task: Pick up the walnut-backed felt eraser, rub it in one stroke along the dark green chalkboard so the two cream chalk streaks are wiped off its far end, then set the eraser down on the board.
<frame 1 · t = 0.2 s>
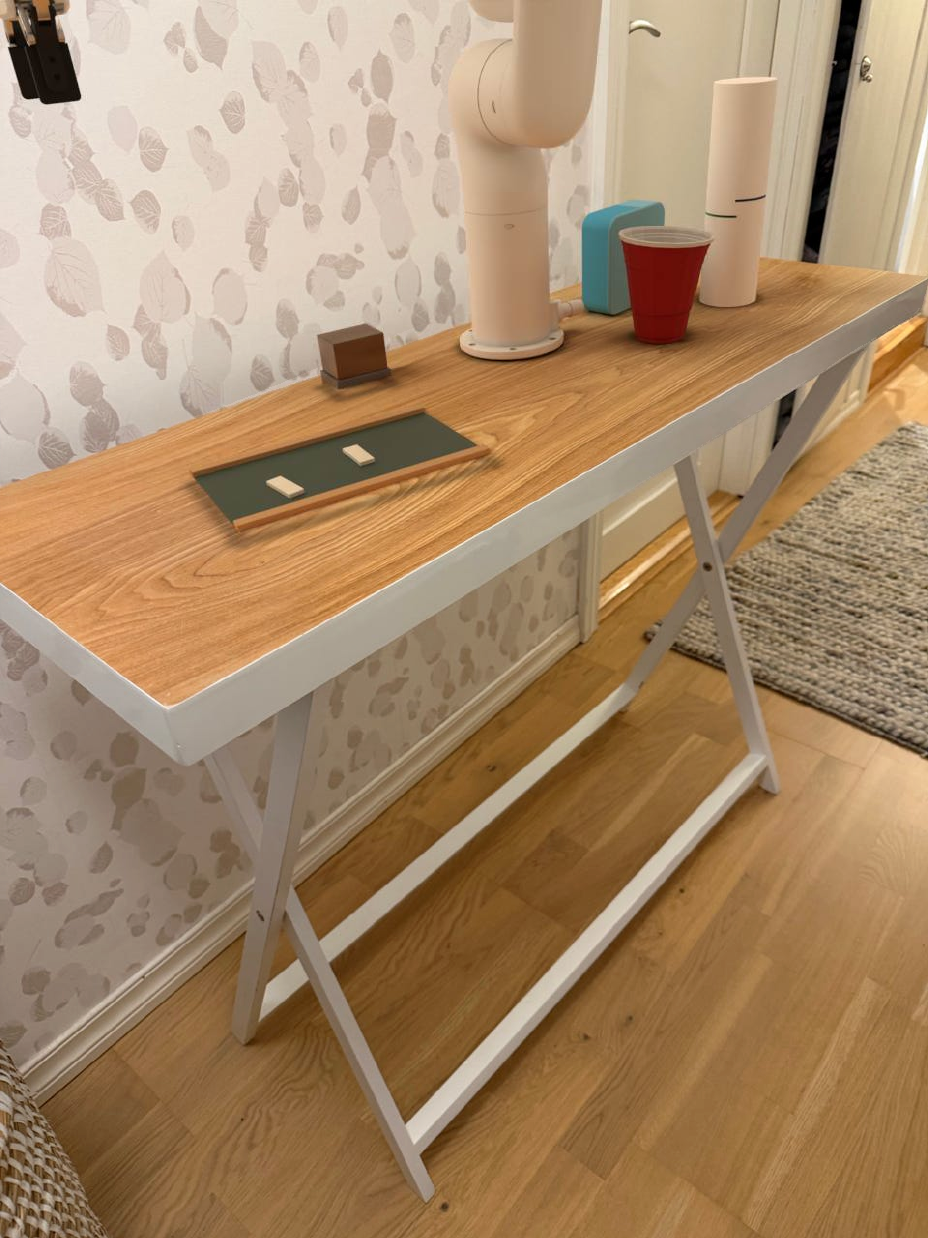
hand: (51, 99, 79), 31 cm above the table, tool pointing down, fingers open, 9 cm apart
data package: (622, 305, 124), on the table
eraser: (357, 386, 105), on the table
chalk streak A: (359, 456, 86), point 1 cm above the table, touching chalkboard
chalk streak B: (285, 488, 81), point 1 cm above the table, touching chalkboard
chalkboard: (341, 474, 85), on the table
plastic cup: (661, 337, 111), on the table
cylindrical container: (727, 300, 122), on the table
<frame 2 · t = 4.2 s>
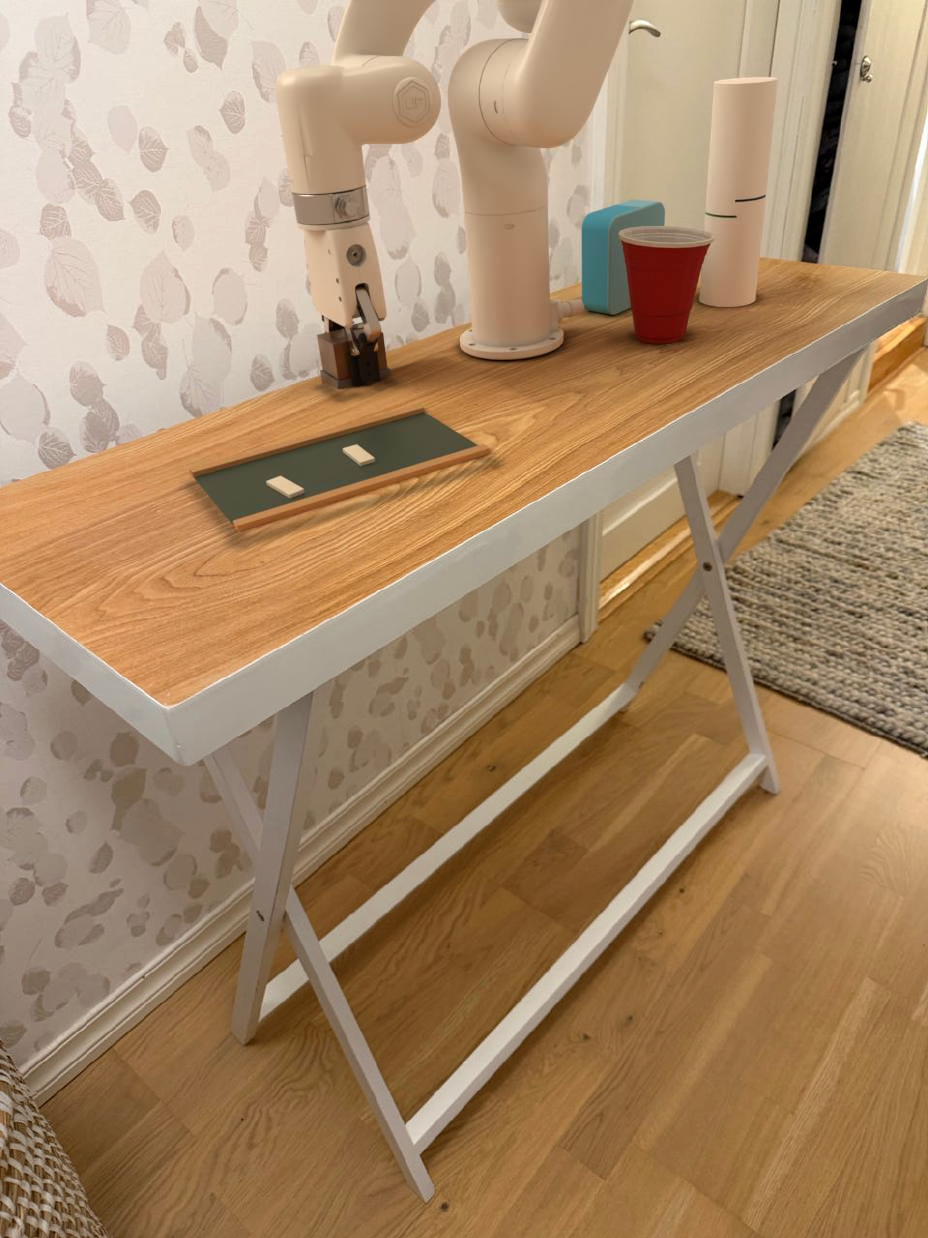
hand: (356, 379, 104), 1 cm above the table, tool pointing down, fingers closed on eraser, 5 cm apart
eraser: (357, 386, 105), on the table, touching gripper
everything else where it was.
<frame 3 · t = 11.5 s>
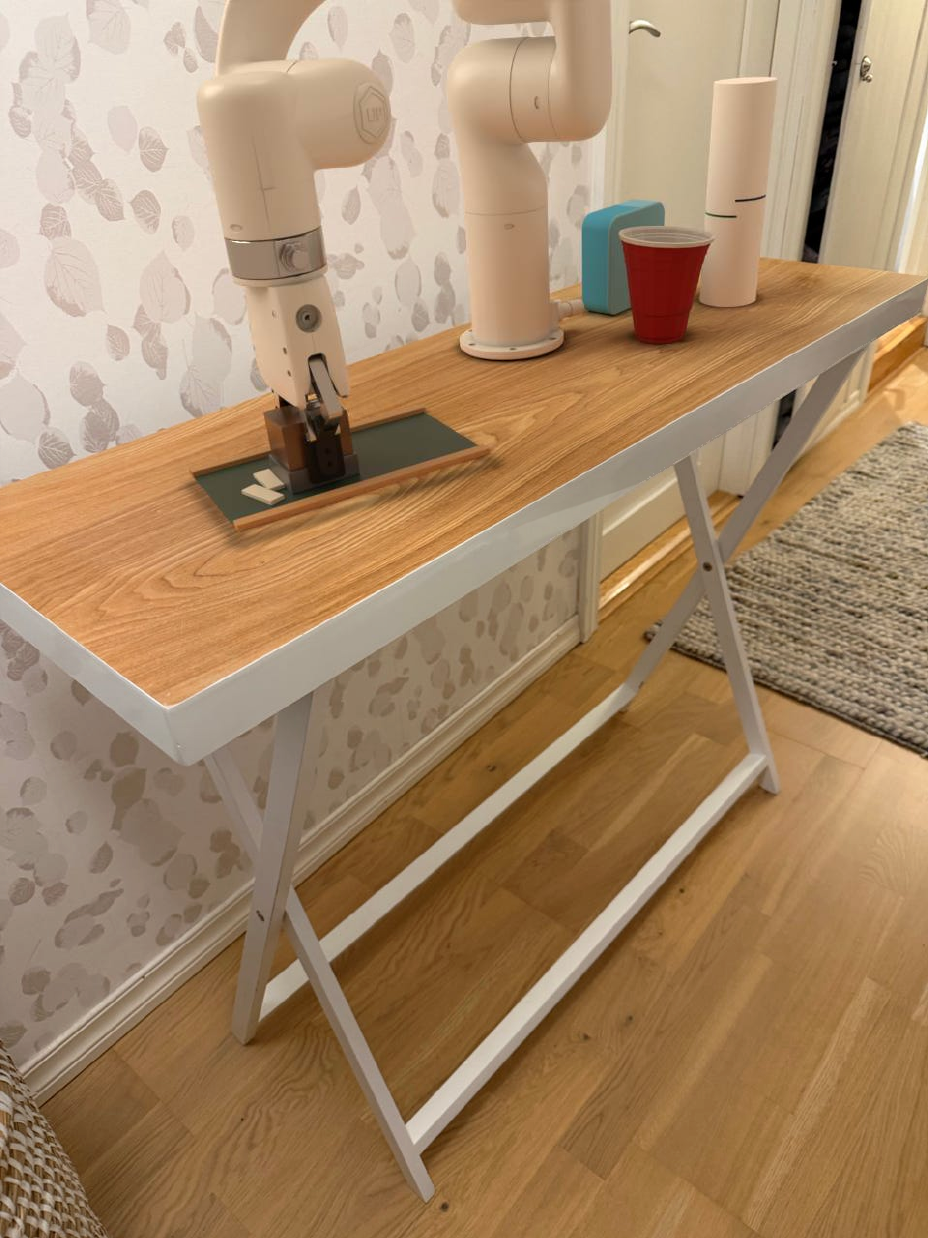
hand: (315, 465, 83), 2 cm above the table, tool pointing down, fingers closed on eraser, 5 cm apart
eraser: (316, 474, 83), point 1 cm above the table, touching gripper
chalk streak A: (269, 482, 82), point 1 cm above the table, touching chalk streak B
chalk streak B: (263, 496, 80), point 1 cm above the table, touching chalk streak A, chalkboard
everything else where it was.
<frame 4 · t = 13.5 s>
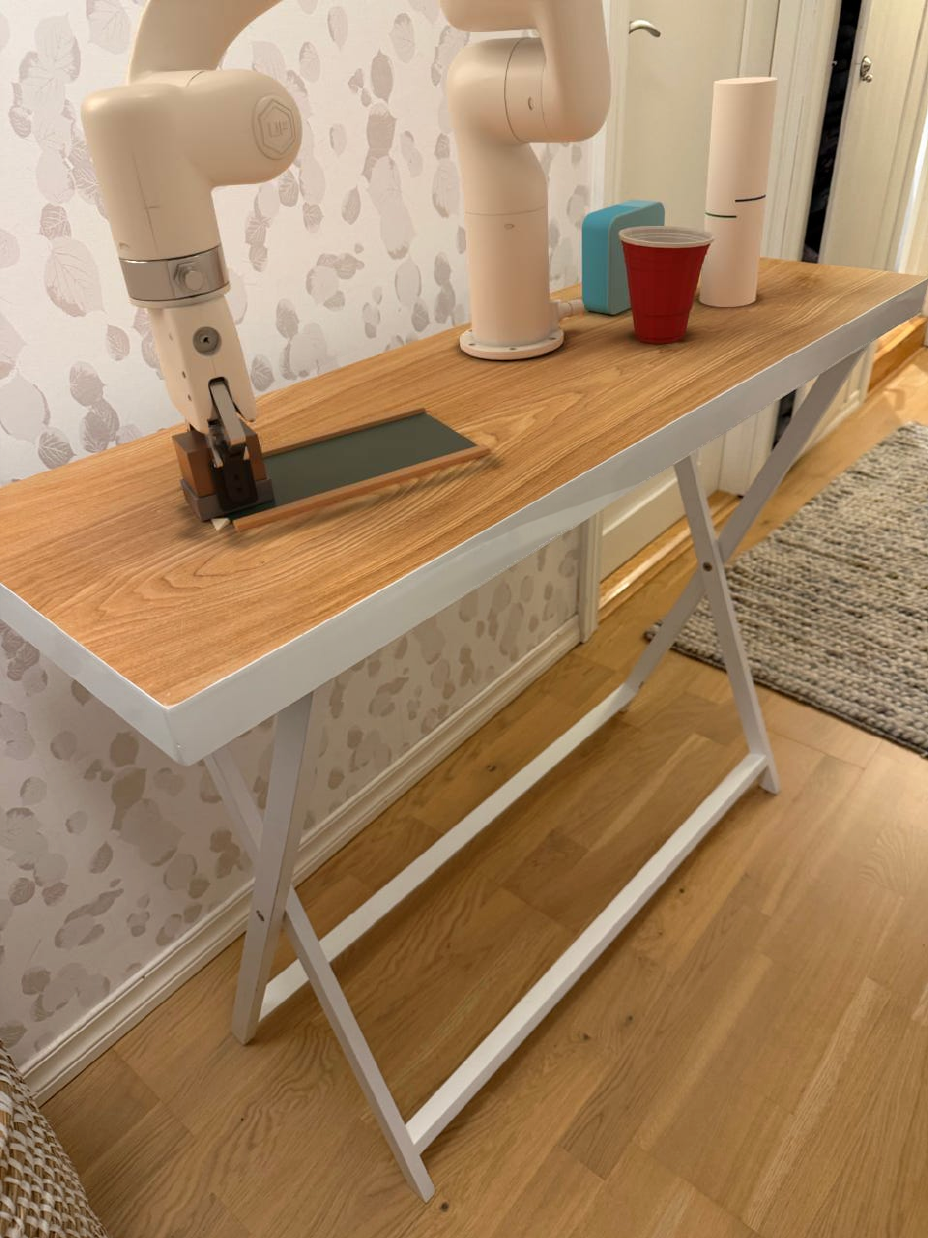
hand: (228, 491, 80), 2 cm above the table, tool pointing down, fingers closed on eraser, 5 cm apart
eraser: (229, 499, 80), point 1 cm above the table, touching gripper
chalk streak A: (200, 514, 81), on the table
chalk streak B: (209, 528, 77), point 1 cm above the table, tilted 20°, touching chalkboard
everything else where it was.
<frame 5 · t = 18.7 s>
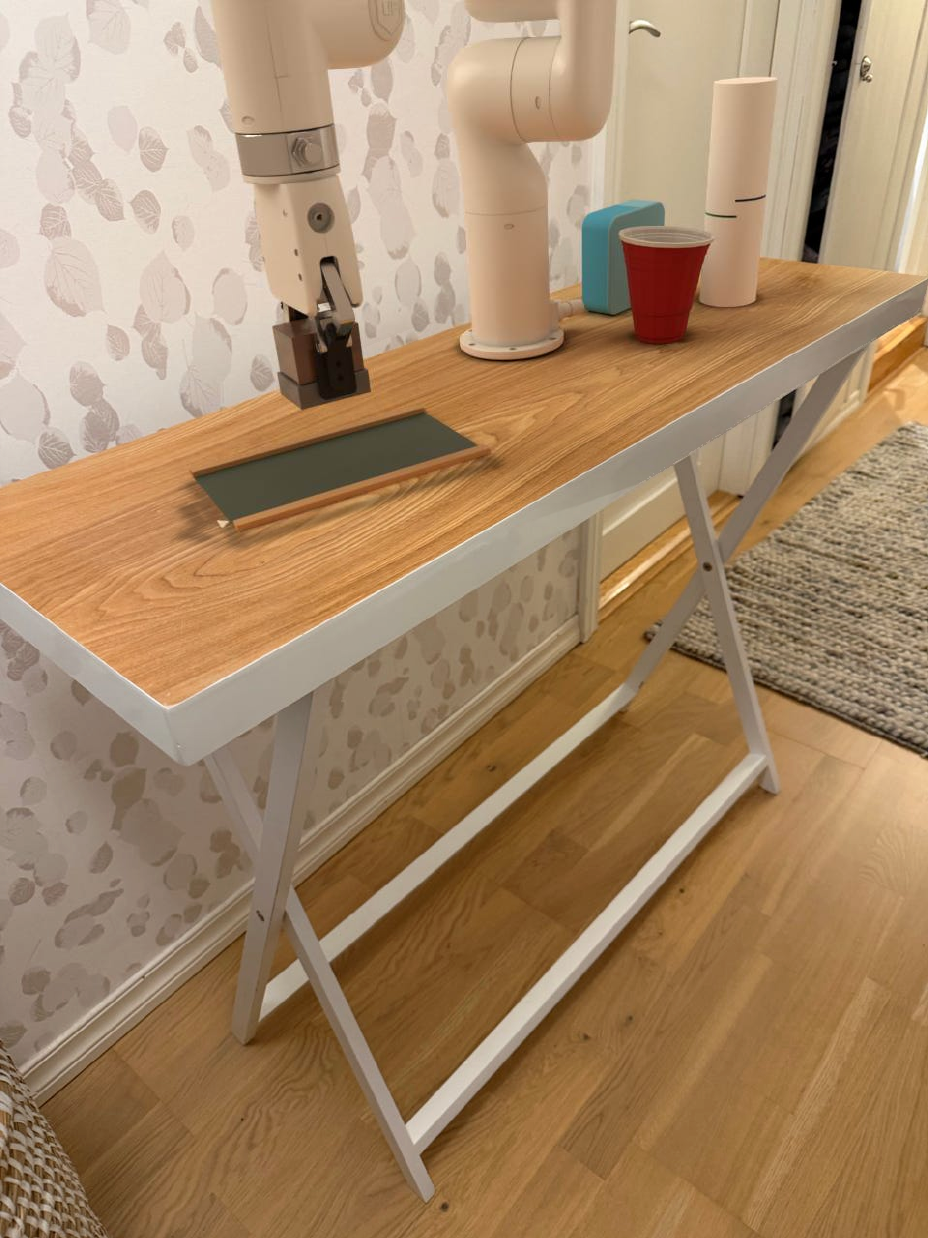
hand: (325, 384, 80), 9 cm above the table, tool pointing down, fingers closed on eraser, 5 cm apart
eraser: (325, 393, 81), point 8 cm above the table, touching gripper
everything else where it was.
when the fingers open (2 cm above the table, at t = 20.7 s): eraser stays where it is, resting on chalkboard.
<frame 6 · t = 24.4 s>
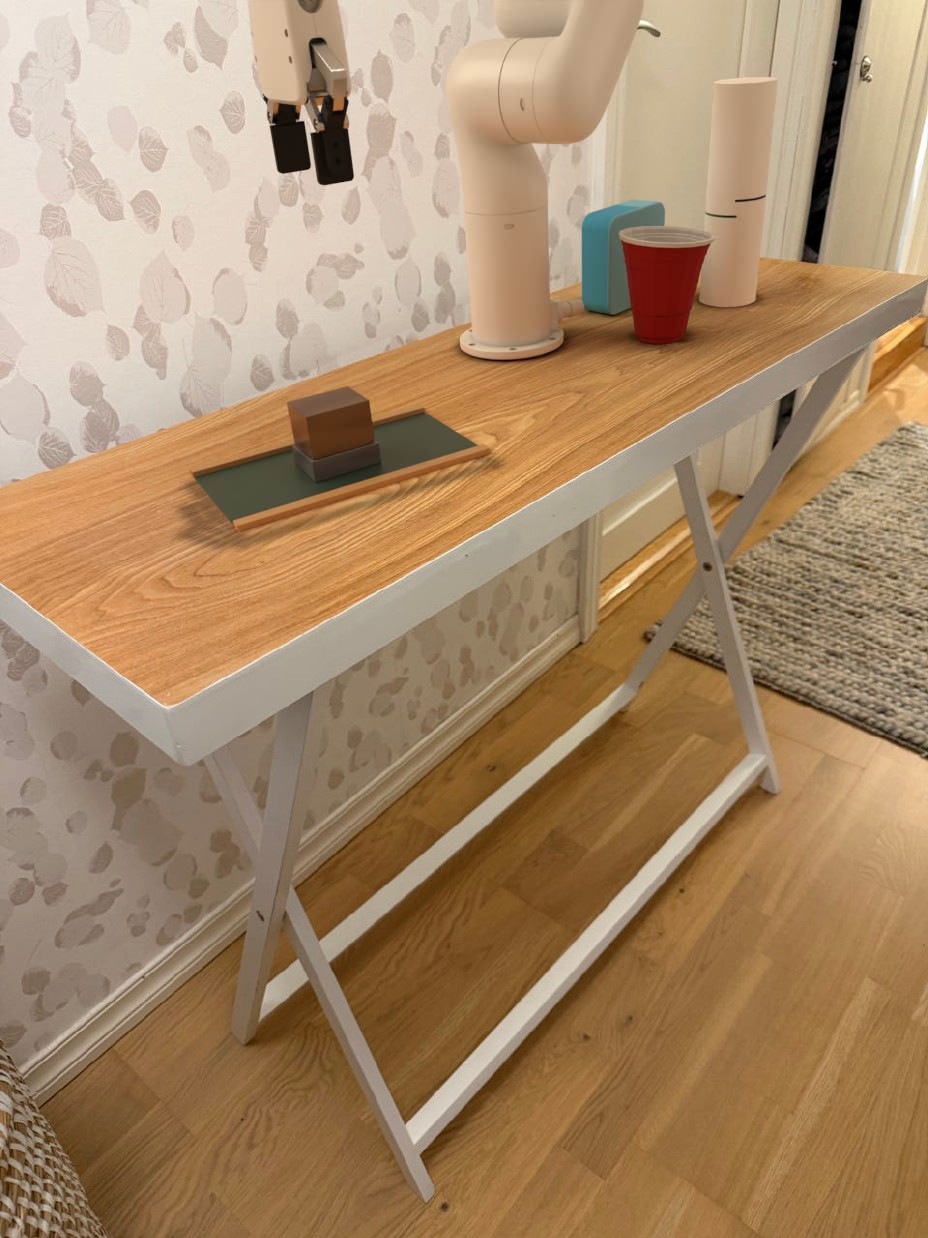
hand: (314, 176, 83), 23 cm above the table, tool pointing down, fingers open, 9 cm apart
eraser: (337, 463, 85), point 1 cm above the table, touching chalkboard
chalk streak B: (209, 537, 78), on the table
everything else where it was.
at the end: chalk streak A on the table; chalk streak B on the table; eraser inside the target area on the chalkboard (0.2 cm from its centre), point 1.2 cm above the chalkboard's base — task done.
